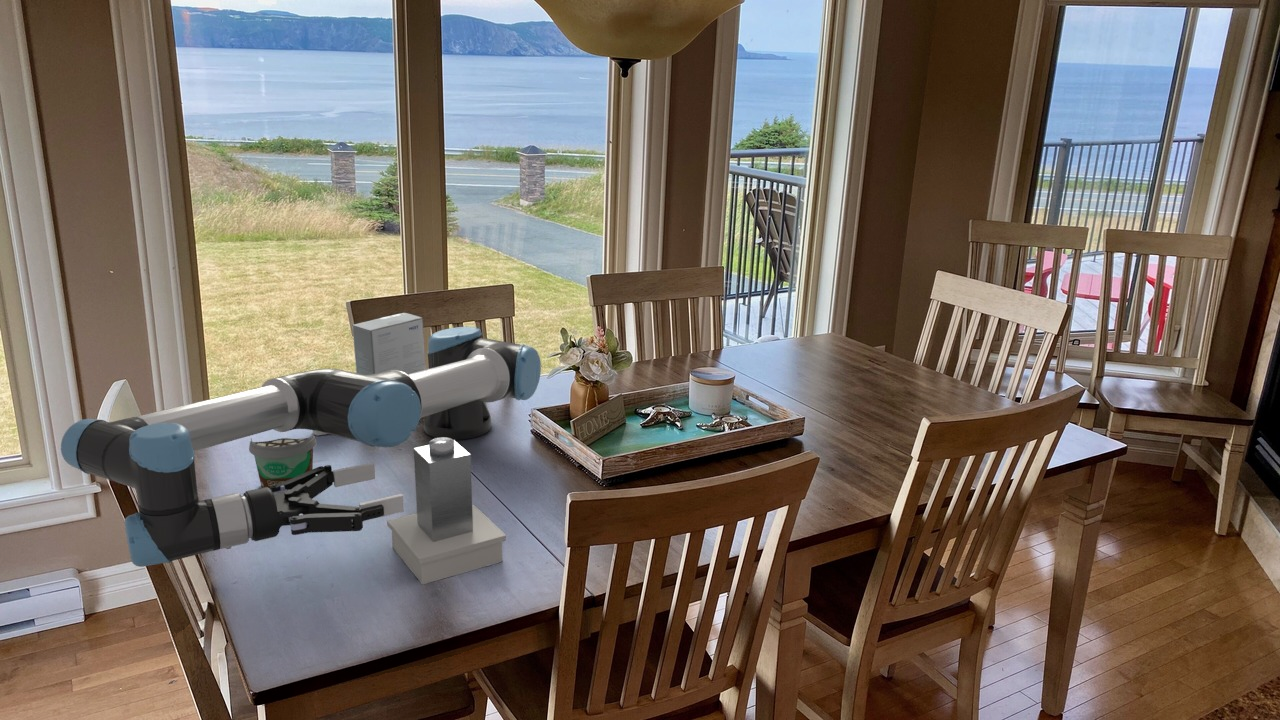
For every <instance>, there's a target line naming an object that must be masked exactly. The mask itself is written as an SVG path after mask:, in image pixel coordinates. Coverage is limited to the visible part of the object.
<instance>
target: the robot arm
mask: <svg viewBox="0 0 1280 720" xmlns="http://www.w3.org/2000/svg"><path fill="white" fill-rule="evenodd" d="M482 336H483V333H482V330H481V329H480V328H478V327H476V326H457V327H451V328H450V327H449V328H446V329H441V330H438V331H436V332H434V333H432V334H430V336H429V338H428V345H427V347H428V348H427V349H428V350H427V361H428V368H426V370H423V371H419V372H415V373H411V374H406V373H404V372H402V371H399V370H390V371H385V372H381V373H377V374H373V375H363V374H358V373H356V372H353V371H349V370H343V369H338V368H317V369H312V370H306V371H305V370H304V371H300V372H295V373H290V374H286V375H280V376H277V377H272V378H269V379H267V380H266V381H264V382H263V383H262V385H261V386H260V387H256V388H252V389H247V390H243V391H239V392H235V393H229V394H225V395H222V396H218V397H217V396H216V397H213V398H209V399H206V400H201V401H196V402H192V403H188V404H183V405H180V406H176V407H172V408H166V409H163V410H158V411H154V412H149V413H146V414H143V415H142V414H141V415H138V416H132V417H128V418H122V419H119V420H114V421H106V420H104V419H99V418H98V419H95V418H94V419H93V418H84V419H80V420H78V421H76V422H74V423H73V424H72V425H71V426H69V427H68V428H67V429H66V431H65V432H64V434H63V436H62V439H61V443H60V451H61V452H60V453H61V456H62V458H63V460H64V461H65V462H66V463H67V464H68V465H70V466H71V467H72V468H75V469H77V470H79V471H80V472H83V473H84V474H87V475H93V476H96V477H99V478H102V479H105V480H108V481H112V482H115V483H118V484H121V485H124V486H127V487H130V488H133V489H135V490H136V491H135V492H136V497H137V498H136V499H137V504H138V512H134V514H130V515H127V517H125V519H124V526H125V528H124V529H125V537H126V542H127V548H128V552H129V553H128V554H129V558H130V561H131V563H132V564H133V565H134V566H136V567H139V568H141V567H142V568H143V567H147V566H153V565H159V564H165V563H166V564H169V563H172V562H173V561H177V560H181V559H184V558H189V557H193V556H196V555H201V554H206V553H208V552H215V551H218V550H223V549H226V550H230V549H232V547H235V546H240V545H244V544H247V543H248V542H249V541H250V540H252V541H253V542H259V541H263V540H267V539H271V538H275V537H278V535H279V534H280V529H281V527H284V526H290V533H291V535H292V536H298V535H302V534H303V535H304V534H307V533H308V534H309V533H311V534H312V533H335V532H339V533H340V532H343V533H344V532H360V531H362V529H363V528H364V527H363V526H364V525H363V522H365V521H370V520H375V519H379V518H383V517H387V516H390V515H395V514H398V513H403V512H404V511H405V509H404V508H405V507H404V495H403V494H402V493H398V494H394V495H390V496H385V497H382V498H376V499H373V500H371V499H370V500H367V501H362V502H359V503H358V506H353V505H352V506H351V505H341V504H328V503H320V502H319V501H318V500H316V499H314V498H316V497H317V496H318V495H320V494H321V493H323V492H324V491H326V490H327V489H329V488H330V487H331V486H334V487H335V488H339V487H345V486H348V485H353V484H357V483H362V482H367V481H371V480H375V479H376V469H375V463H374V462H373V461H372V462H367V463H363V464H357V465H354V466H353V465H352V466H348V467H344V468H339V469H335V470H333V469H332V465H329V464H327V465H324V466H322V465H320V466H317V467H315V468H313V469H312V470H310V471H308V472H306V473H303V474H301V475H299V476H296V477H294V478H292V479H289V480H287V481H285V482H282V483H278V484H274V485H271V486H270V488H268V487H264V488H262V487H261V488H256V489H250V490H247V491H245V492H244V493H243V494H240V493H238V492H234V493H229V494H226V495H225V494H224V495H221V496H217V497H212V498H207V499H204V500H199V493H198V485H197V475H196V467H195V465H196V464H195V452H197V451H200V450H201V451H202V450H205V449H208V448H211V447H216V446H218V445H221V444H226V443H229V442H232V441H237V440H239V439H244V438H246V437H250V436H254V435H257V434H260V433H264V432H268V431H271V430H274V431H276V432H278V433H279V432H280V433H284V432H285V433H286V432H289V431H292V430H308V431H313V430H315V431H320V432H324V433H328V434H327V435H332V436H337V437H340V438H344V439H349V440H353V441H356V442H360V443H362V444H364V445H366V446H370V447H378V448H392V447H393V448H394V447H396V446H399V445H402V443H404V442H405V441H407V440H408V439H409V438H410V437H411V436H412V434H411V433H412V432H415V431H416V429H417V427H418V426H419V422H420V420H421V418H423V430H424V433H425V434H427V435H428V436H430V437H433V438H434V439H435V438H441V437H446V438H451V439H453V440H455V441H456V440H458V441H459V440H467V439H473V438H477V437H480V436H482V435H485V434H486V433H488V432H489V431H490V430H491V428H492V417H491V413H490V411H489V408H488V406H487V403H494V402H497V401H501V400H505V399H510V398H511V399H515V400H517V401H520V400H521V401H526V400H529V399H530V398H532V397H533V396H534V394H535V393H536V391H537V388H538V386H539V383H540V379H541V374H542V373H541V371H542V363H541V358H540V355H539V353H538V351H537V350H536V349H535V348H534V347H531V346H529V345H525V344H523V343H522V344H519V343H513V342H509V341H508V342H507V341H503V340H496V339H491V338H484V337H482Z"/></svg>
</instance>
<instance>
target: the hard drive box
mask: <svg viewBox="0 0 1280 720" xmlns="http://www.w3.org/2000/svg"><path fill="white" fill-rule="evenodd" d="M351 327H352V336H353V338H352V339H353V347H354V360H355V361H354V362H355V371H356V372H355V373H358V374H363V375H373V374H377V373H381V372H385V371H390V370H399V371H402V372H404V373H406V374H411V373H415V372H419V371H423V370H427V368H426V353H425V352H426V351H425V350H426V349H425V335H424V334H425V333H424V319H423V317H422V316H419V315H416V314H415V315H414V314H411V313H407V312H402V313H397V314H392V315H388V316H382V317H380V318H374V319H371V320H367V321H362V322H359V323H355V324H352V326H351Z"/></svg>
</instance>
